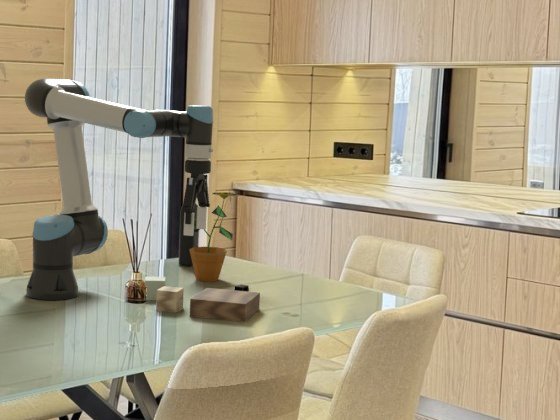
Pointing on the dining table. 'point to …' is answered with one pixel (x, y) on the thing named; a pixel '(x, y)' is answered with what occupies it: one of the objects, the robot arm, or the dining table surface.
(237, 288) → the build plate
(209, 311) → the walnut block
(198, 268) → the potted plant
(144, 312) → the dining table surface
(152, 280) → the sage cube
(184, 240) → the wine bottle
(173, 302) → the maple cube
